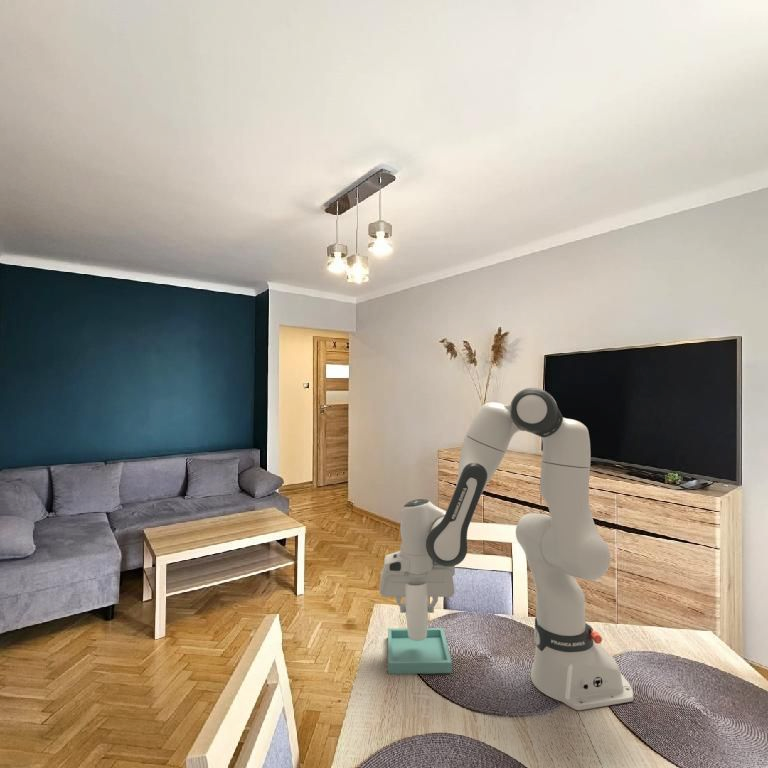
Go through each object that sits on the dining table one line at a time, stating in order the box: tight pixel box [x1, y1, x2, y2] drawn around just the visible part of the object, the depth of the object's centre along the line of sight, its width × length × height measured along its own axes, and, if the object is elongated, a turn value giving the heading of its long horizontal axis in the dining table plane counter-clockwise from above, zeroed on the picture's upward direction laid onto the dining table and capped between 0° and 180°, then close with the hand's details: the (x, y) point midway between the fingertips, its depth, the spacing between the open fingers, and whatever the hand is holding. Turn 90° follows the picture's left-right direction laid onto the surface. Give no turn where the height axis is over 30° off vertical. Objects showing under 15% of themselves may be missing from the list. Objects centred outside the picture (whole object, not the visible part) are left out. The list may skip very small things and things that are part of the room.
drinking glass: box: [403, 583, 430, 641], centre depth 118 cm, size 7×7×15 cm
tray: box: [387, 627, 453, 675], centre depth 118 cm, size 16×16×3 cm
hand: (416, 611), depth 118 cm, fingers closed on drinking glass, 6 cm apart
